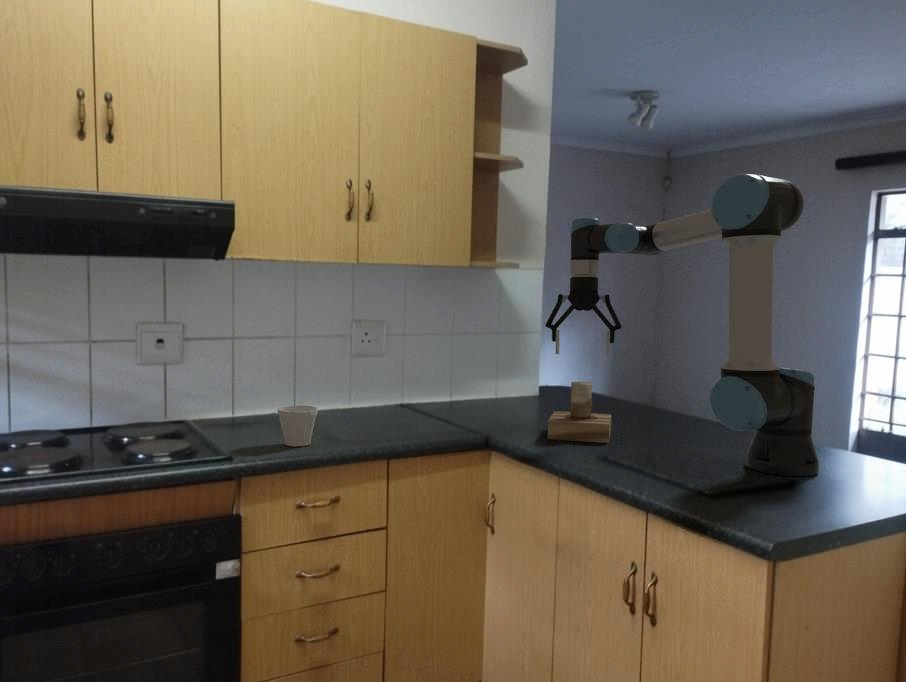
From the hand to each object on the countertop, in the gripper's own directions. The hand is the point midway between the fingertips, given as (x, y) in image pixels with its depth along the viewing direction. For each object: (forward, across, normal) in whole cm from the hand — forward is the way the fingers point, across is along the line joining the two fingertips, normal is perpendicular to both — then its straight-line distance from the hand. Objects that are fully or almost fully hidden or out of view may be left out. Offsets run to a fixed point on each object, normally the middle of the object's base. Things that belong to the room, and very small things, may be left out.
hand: (582, 354), depth 194 cm
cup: (+22, +68, +33) cm, 79 cm away
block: (+22, 0, 0) cm, 22 cm away
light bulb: (+22, 0, 0) cm, 22 cm away
